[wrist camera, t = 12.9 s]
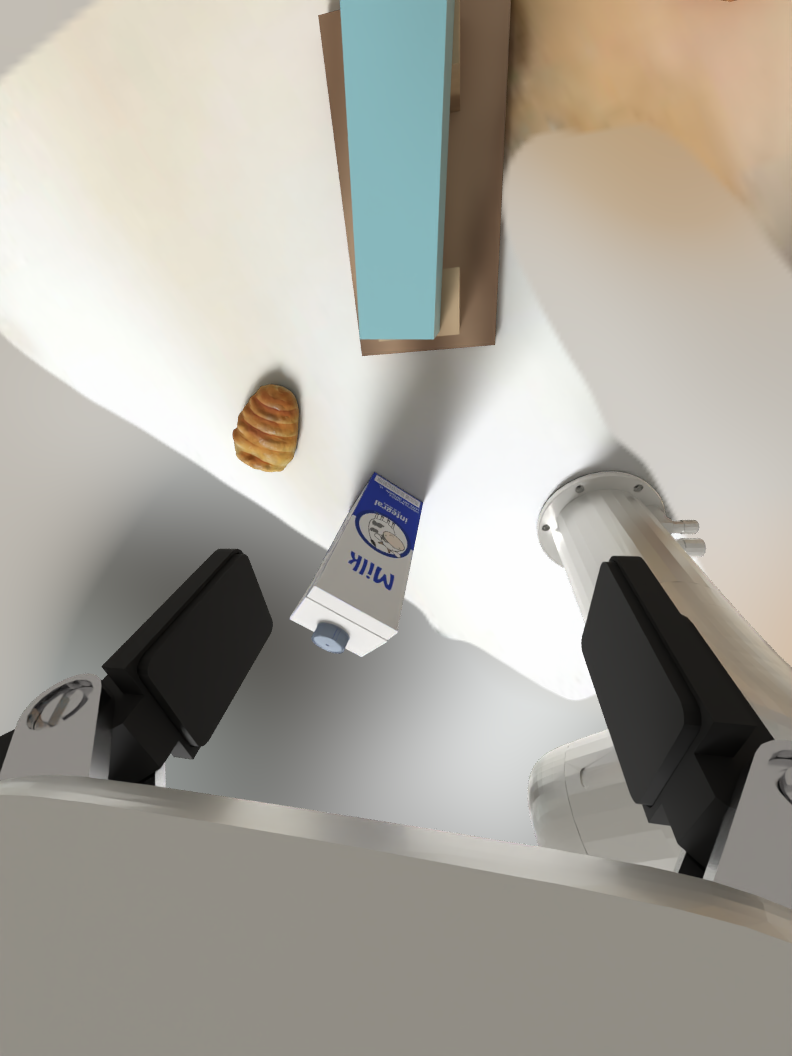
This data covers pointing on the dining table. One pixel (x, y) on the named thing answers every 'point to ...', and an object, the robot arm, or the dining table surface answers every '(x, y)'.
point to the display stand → (450, 173)
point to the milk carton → (363, 572)
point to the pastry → (268, 429)
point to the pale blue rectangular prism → (398, 159)
